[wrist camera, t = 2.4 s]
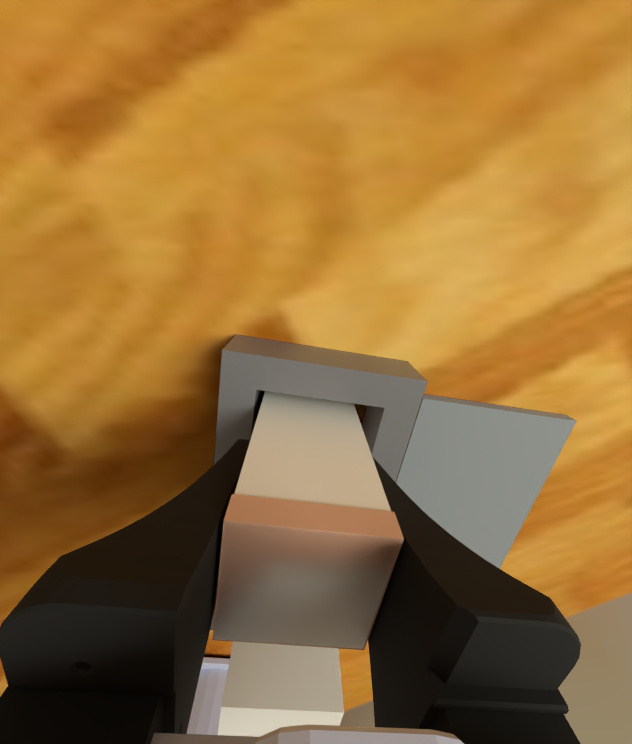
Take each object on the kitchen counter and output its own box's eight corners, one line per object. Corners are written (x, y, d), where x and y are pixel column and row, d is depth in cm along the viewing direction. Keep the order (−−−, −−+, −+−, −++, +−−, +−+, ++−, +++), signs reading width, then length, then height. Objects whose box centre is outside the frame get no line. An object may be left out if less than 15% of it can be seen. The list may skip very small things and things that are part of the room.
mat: (478, 589, 20) (483, 598, 19) (360, 578, 19) (362, 588, 19) (566, 415, 16) (576, 420, 15) (418, 393, 15) (423, 398, 14)
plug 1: (335, 465, 16) (364, 649, 8) (256, 456, 16) (212, 640, 8) (352, 395, 15) (403, 538, 7) (266, 382, 14) (223, 520, 7)
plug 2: (315, 568, 19) (322, 772, 11) (250, 562, 18) (213, 769, 11) (326, 518, 18) (343, 712, 10) (257, 511, 17) (221, 707, 10)
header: (340, 594, 20) (345, 638, 17) (214, 583, 19) (202, 629, 17) (407, 361, 14) (427, 381, 12) (236, 334, 14) (221, 349, 11)
